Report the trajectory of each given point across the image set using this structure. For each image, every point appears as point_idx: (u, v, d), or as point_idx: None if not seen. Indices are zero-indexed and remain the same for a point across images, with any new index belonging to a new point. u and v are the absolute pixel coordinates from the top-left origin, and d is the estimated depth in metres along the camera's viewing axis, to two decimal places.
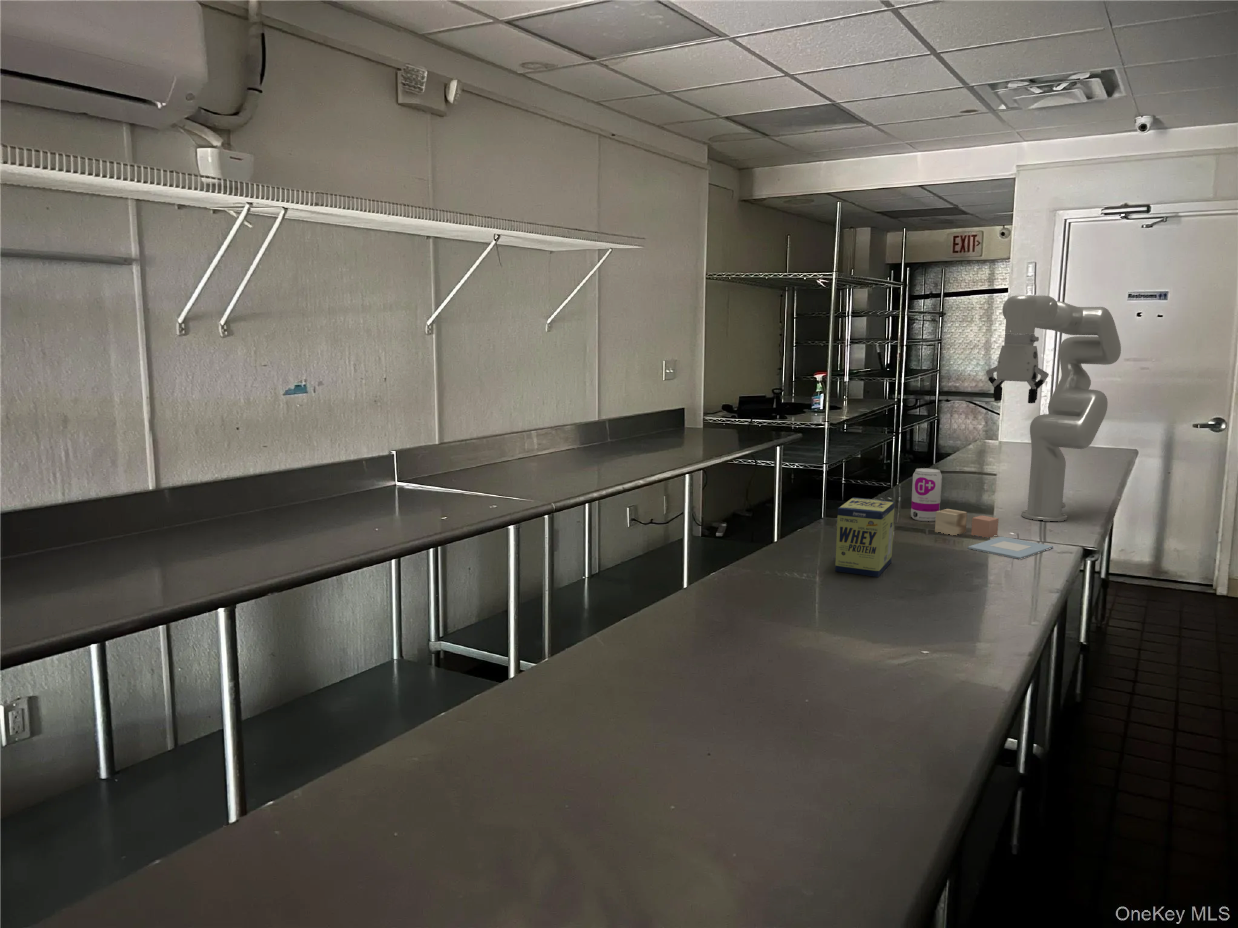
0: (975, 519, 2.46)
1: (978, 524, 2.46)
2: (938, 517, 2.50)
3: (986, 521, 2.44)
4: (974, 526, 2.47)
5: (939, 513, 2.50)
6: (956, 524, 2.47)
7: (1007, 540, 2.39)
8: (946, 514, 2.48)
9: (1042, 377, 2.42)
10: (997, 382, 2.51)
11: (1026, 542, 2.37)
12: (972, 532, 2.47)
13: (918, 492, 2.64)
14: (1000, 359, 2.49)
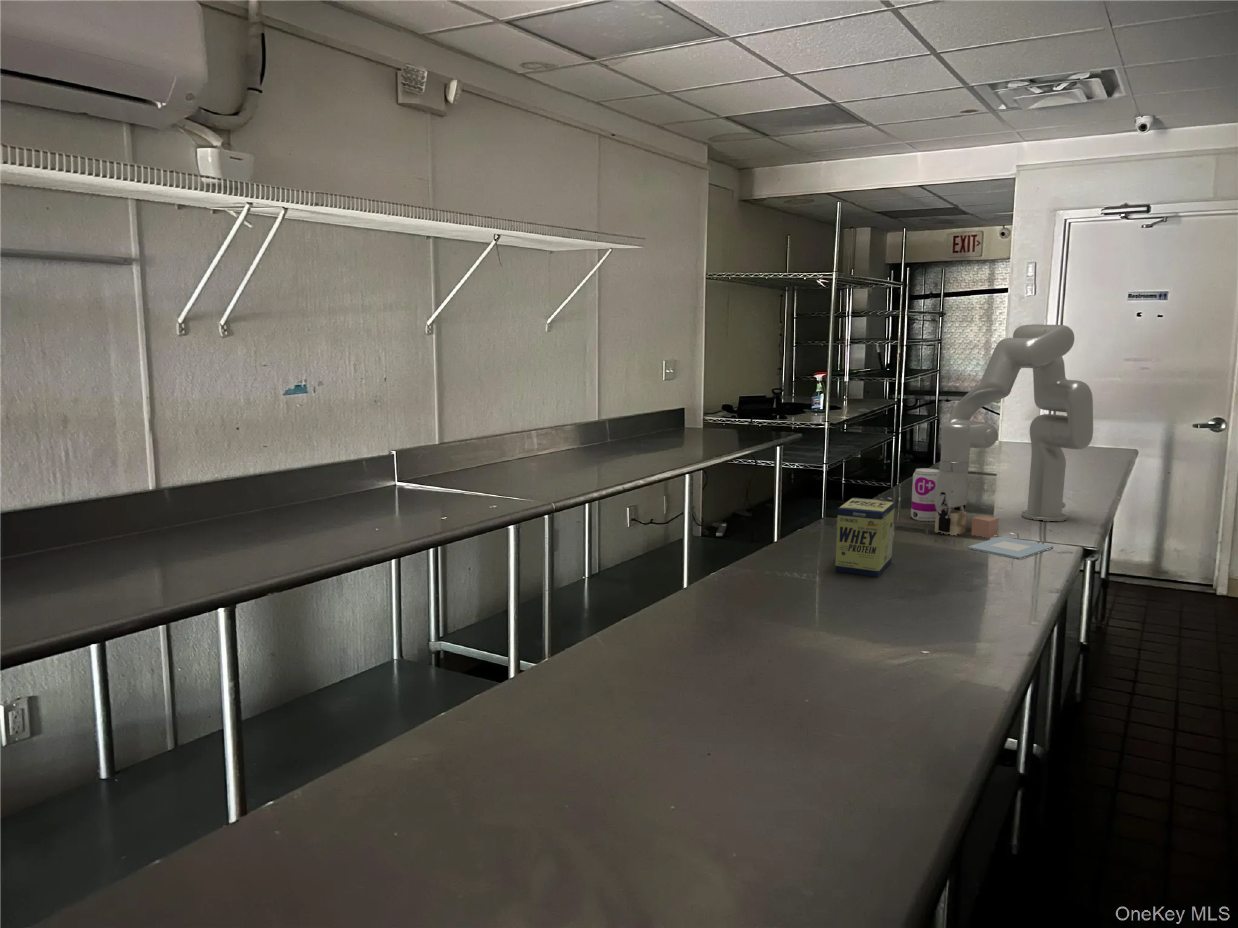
0: (975, 519, 2.46)
1: (978, 524, 2.46)
2: (938, 517, 2.50)
3: (986, 521, 2.44)
4: (974, 526, 2.47)
5: None
6: (956, 524, 2.47)
7: (1007, 540, 2.39)
8: None
9: None
10: (949, 512, 2.47)
11: (1026, 542, 2.37)
12: (972, 532, 2.47)
13: (918, 492, 2.64)
14: (953, 488, 2.45)
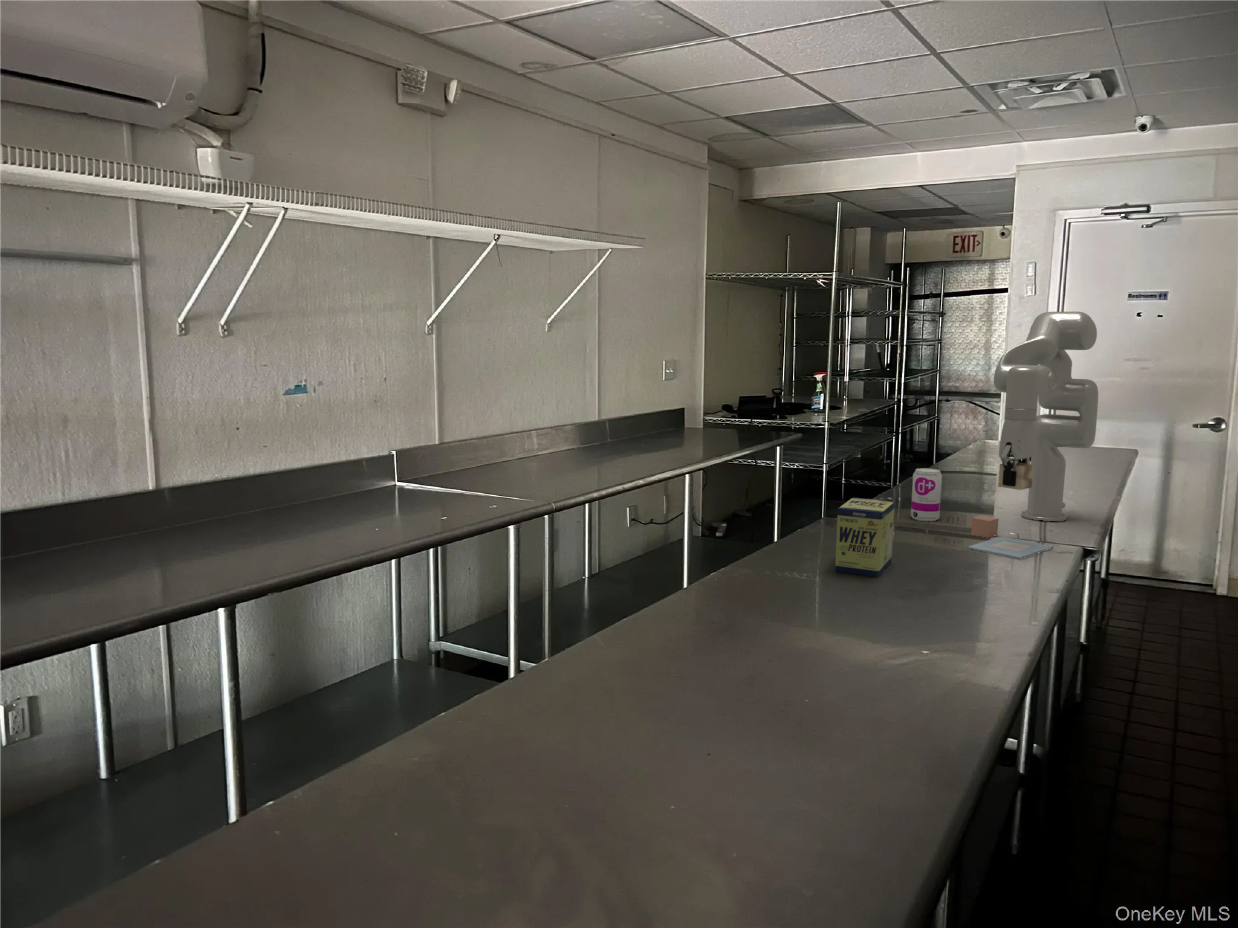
0: (975, 519, 2.46)
1: (978, 524, 2.46)
2: (1002, 470, 2.29)
3: (986, 521, 2.44)
4: (974, 526, 2.47)
5: None
6: (1023, 477, 2.26)
7: (1007, 540, 2.39)
8: None
9: None
10: (1015, 465, 2.26)
11: (1026, 542, 2.37)
12: (972, 532, 2.47)
13: (918, 492, 2.64)
14: (1020, 437, 2.24)
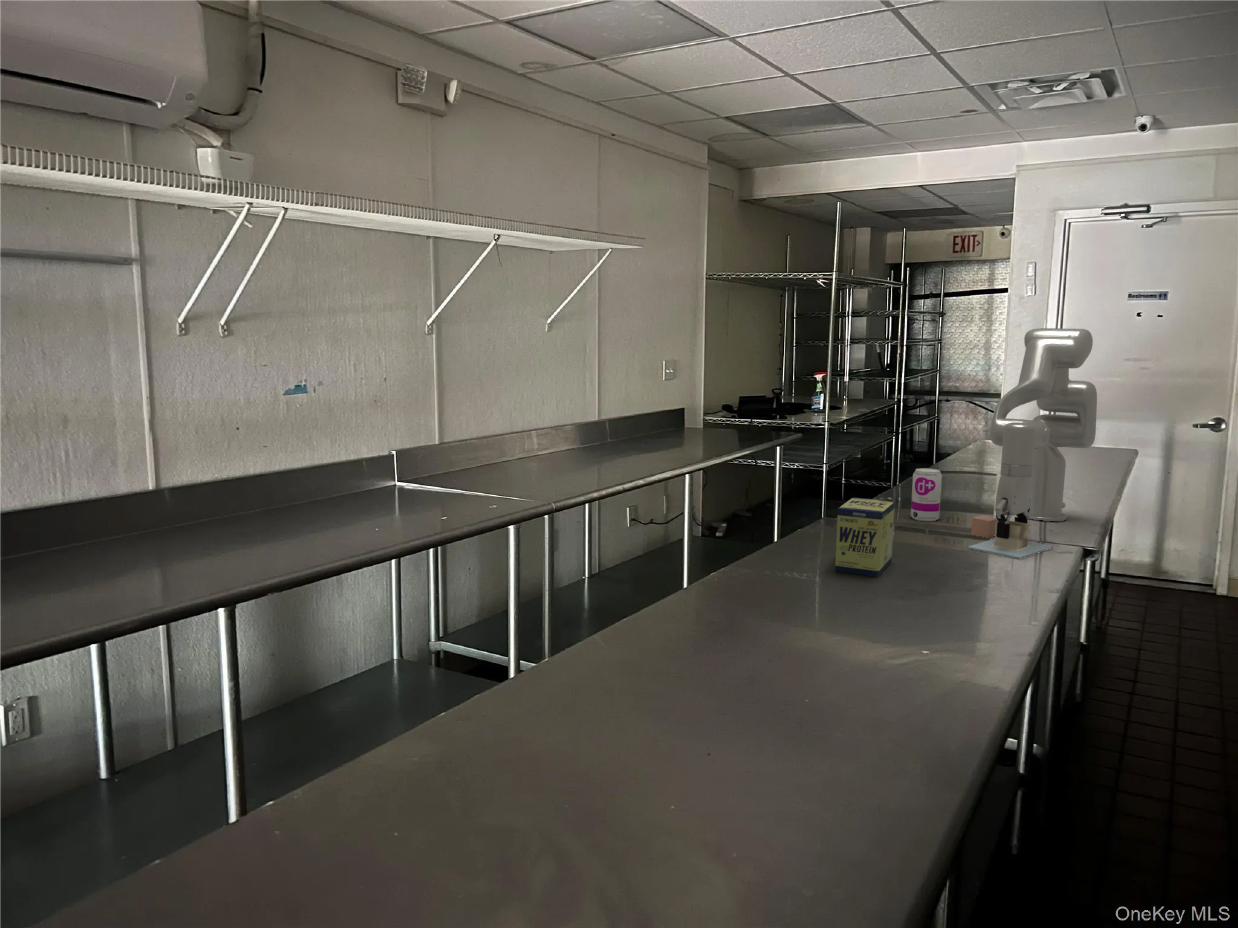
0: (975, 519, 2.46)
1: (978, 524, 2.46)
2: None
3: (986, 521, 2.44)
4: (974, 526, 2.47)
5: None
6: (1018, 537, 2.28)
7: None
8: None
9: None
10: (1009, 518, 2.27)
11: None
12: (972, 532, 2.47)
13: (918, 492, 2.64)
14: (1015, 493, 2.26)
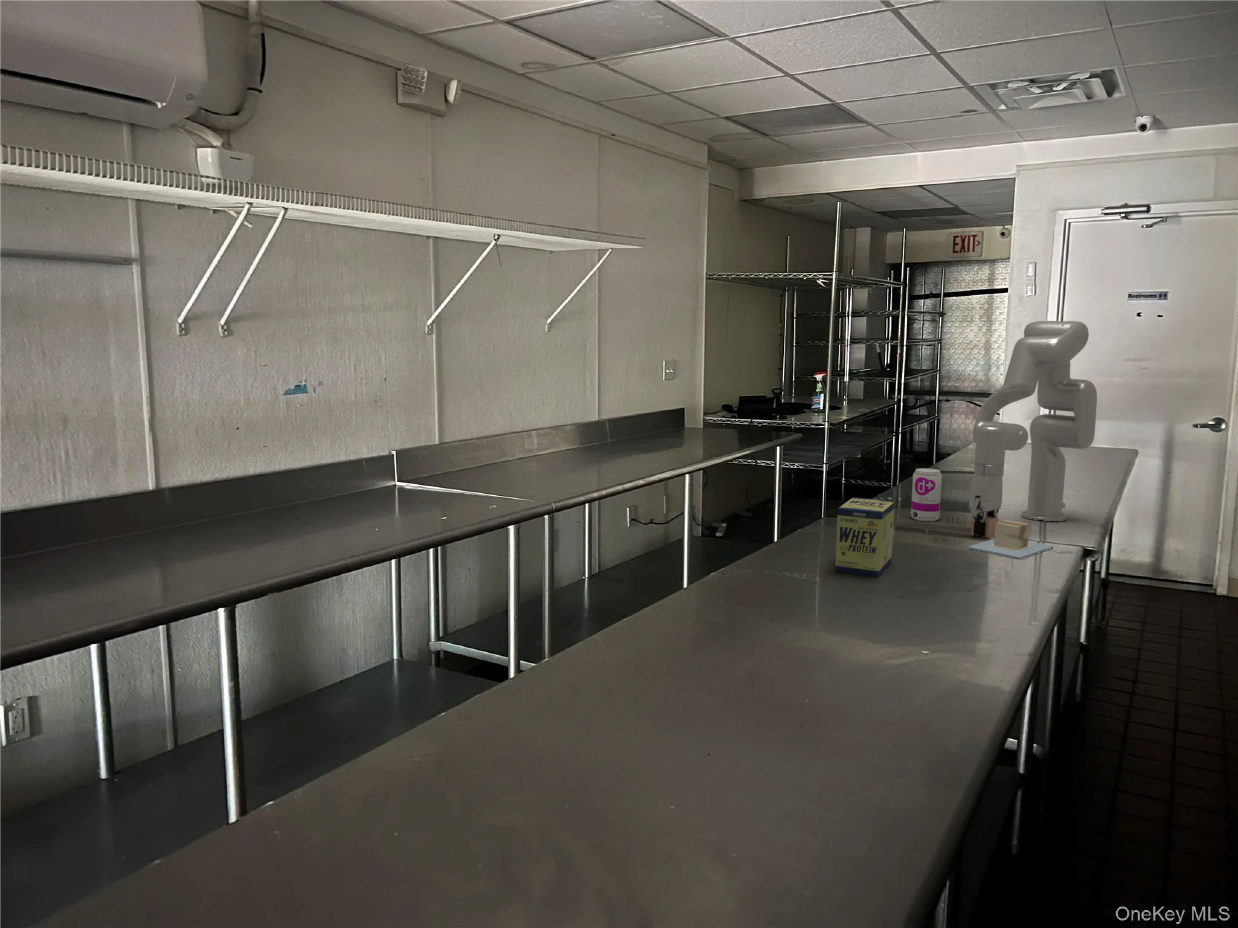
0: None
1: None
2: (998, 529, 2.32)
3: (986, 521, 2.44)
4: None
5: (999, 525, 2.31)
6: (1018, 537, 2.28)
7: None
8: (1007, 526, 2.30)
9: None
10: (984, 516, 2.43)
11: None
12: (972, 532, 2.47)
13: (918, 492, 2.64)
14: (988, 491, 2.41)
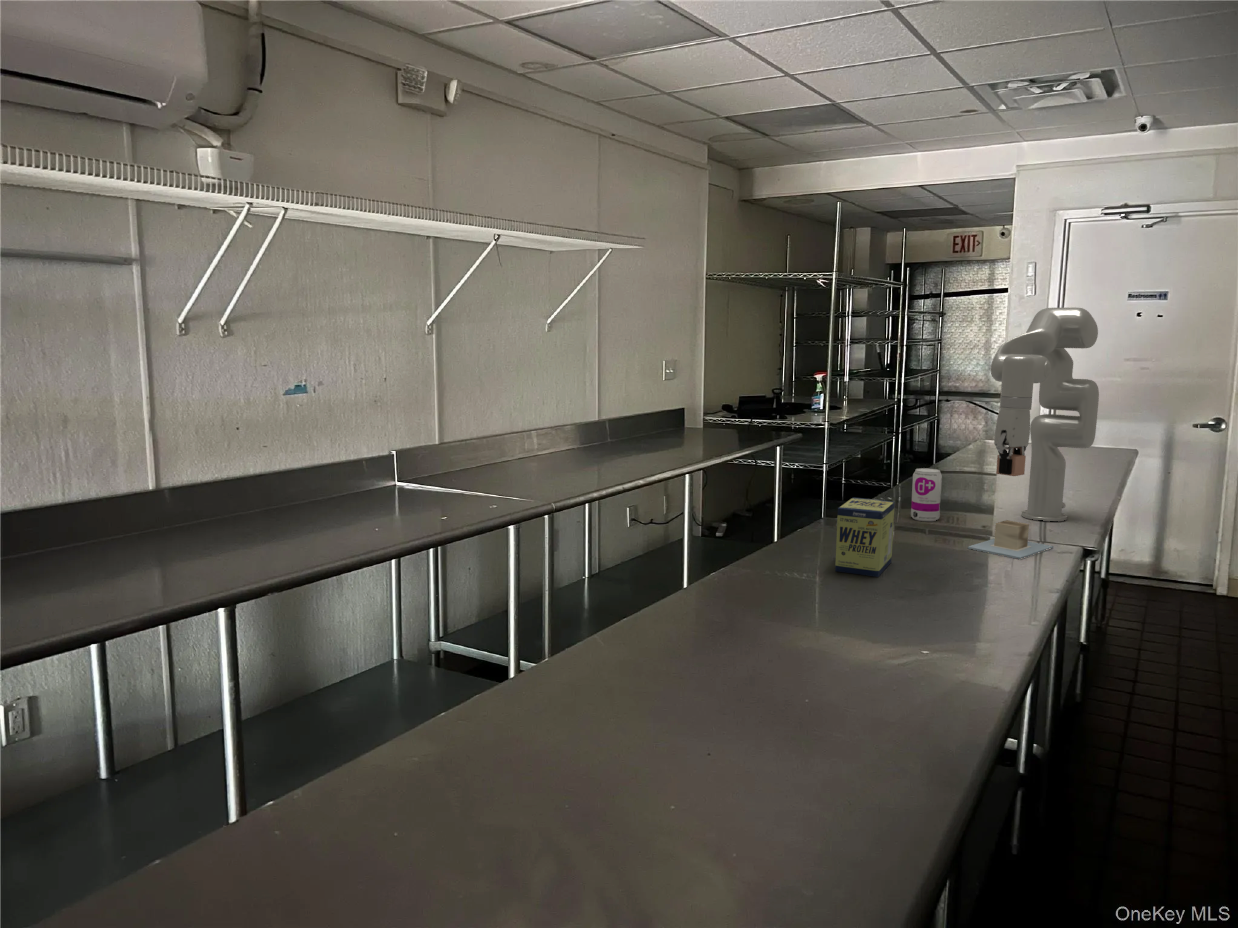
0: None
1: None
2: (998, 529, 2.32)
3: (1012, 458, 2.29)
4: None
5: (999, 525, 2.31)
6: (1018, 537, 2.28)
7: None
8: (1007, 526, 2.30)
9: (1025, 445, 2.34)
10: (1011, 453, 2.28)
11: None
12: (997, 470, 2.32)
13: (918, 492, 2.64)
14: (1014, 425, 2.26)
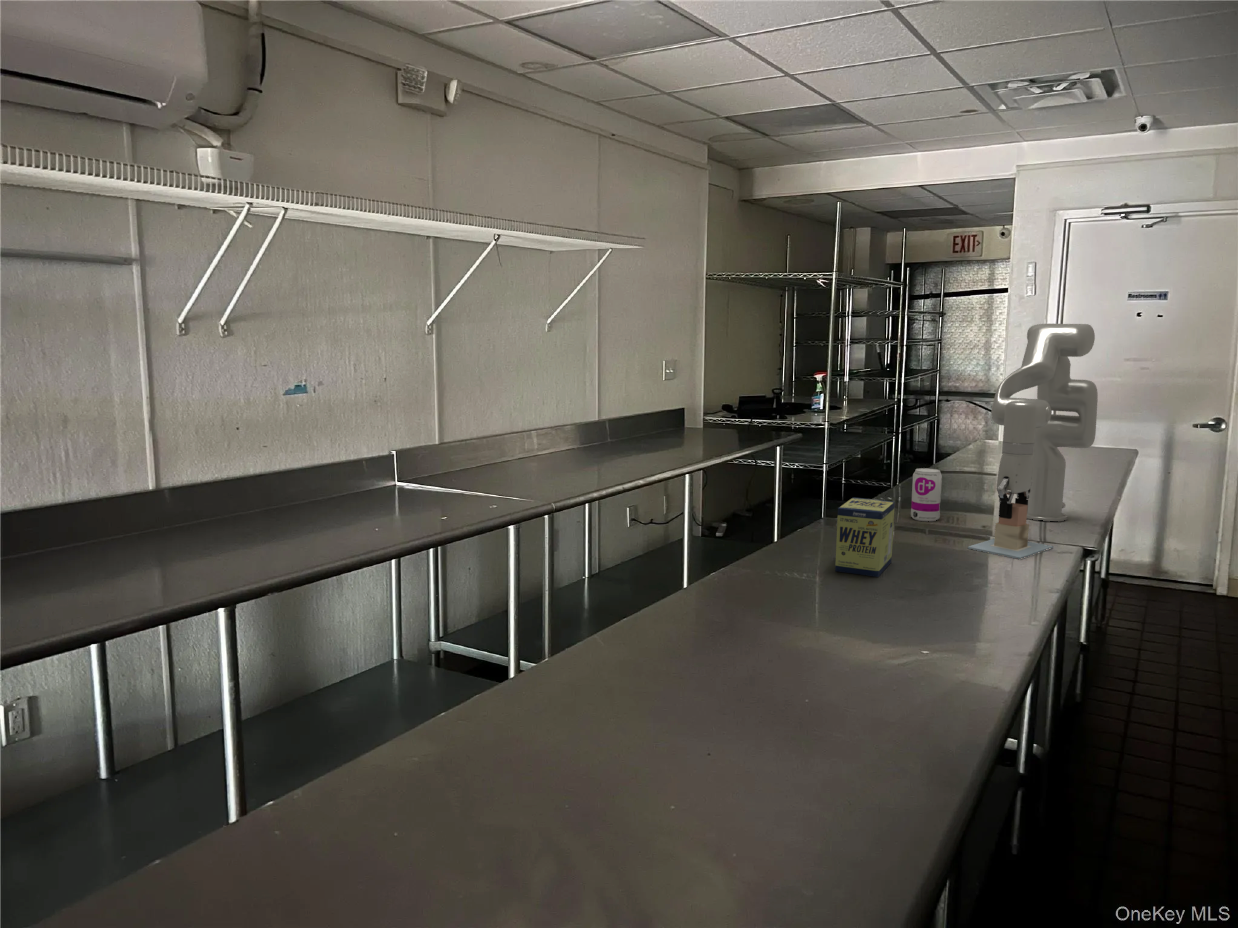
0: None
1: None
2: (998, 529, 2.32)
3: (1015, 508, 2.28)
4: None
5: (999, 525, 2.31)
6: (1018, 537, 2.28)
7: None
8: (1007, 526, 2.30)
9: None
10: (1011, 498, 2.27)
11: None
12: (999, 520, 2.31)
13: (918, 492, 2.64)
14: (1017, 471, 2.25)
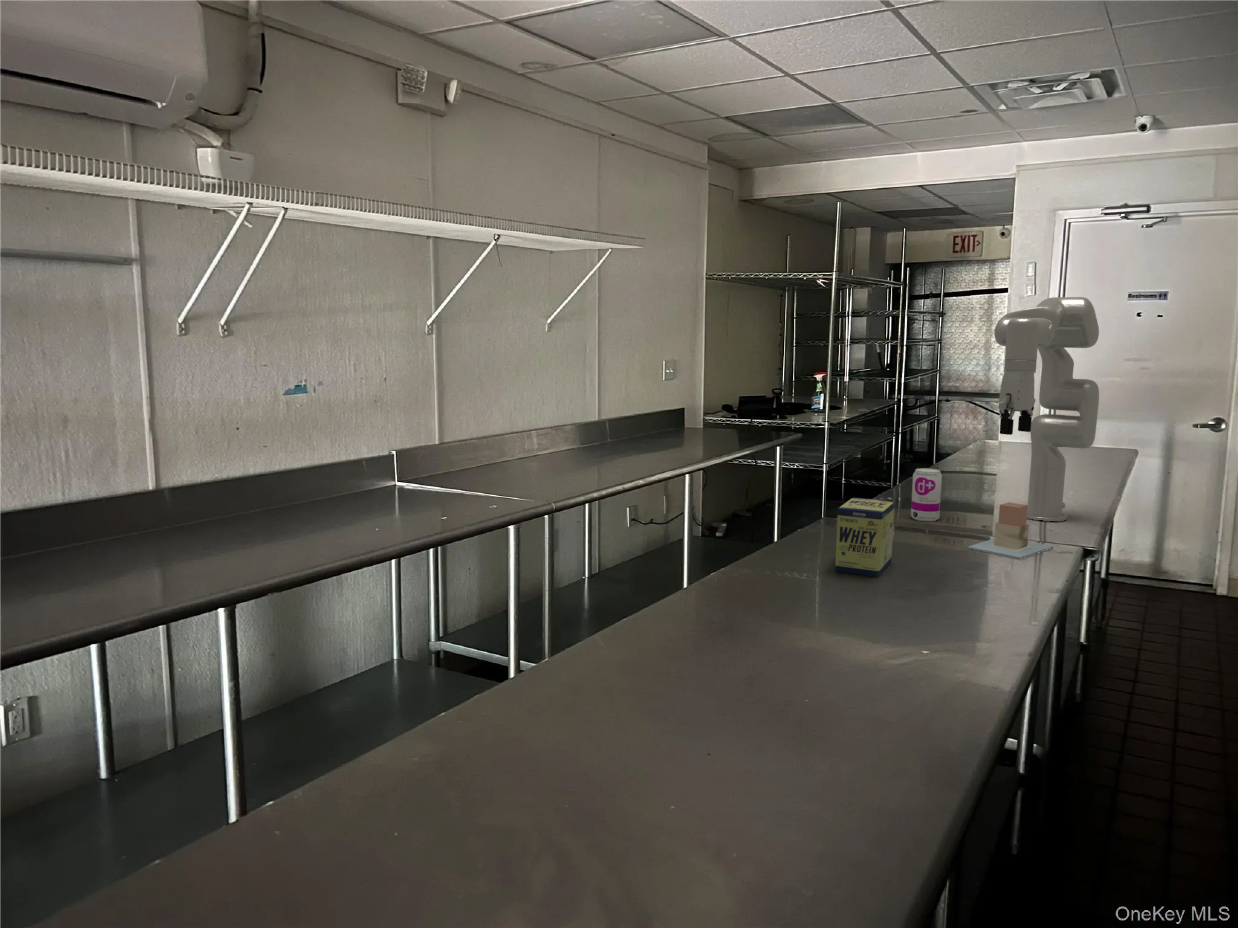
0: (1003, 506, 2.30)
1: (1006, 511, 2.30)
2: (998, 529, 2.32)
3: (1015, 508, 2.28)
4: (1002, 513, 2.31)
5: (999, 525, 2.31)
6: (1018, 537, 2.28)
7: None
8: (1007, 526, 2.30)
9: (1033, 403, 2.34)
10: (1013, 414, 2.26)
11: None
12: (999, 520, 2.31)
13: (918, 492, 2.64)
14: (1019, 388, 2.25)
